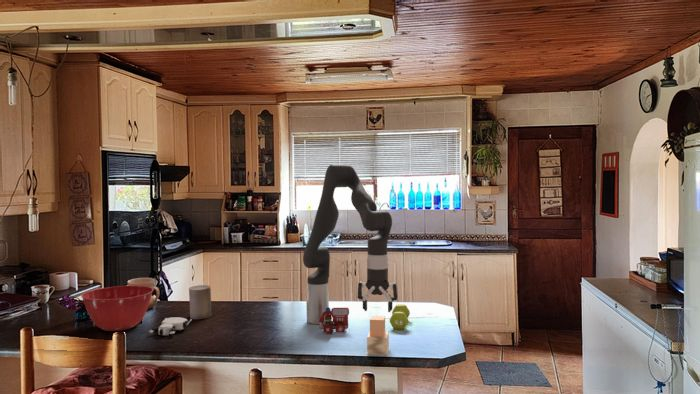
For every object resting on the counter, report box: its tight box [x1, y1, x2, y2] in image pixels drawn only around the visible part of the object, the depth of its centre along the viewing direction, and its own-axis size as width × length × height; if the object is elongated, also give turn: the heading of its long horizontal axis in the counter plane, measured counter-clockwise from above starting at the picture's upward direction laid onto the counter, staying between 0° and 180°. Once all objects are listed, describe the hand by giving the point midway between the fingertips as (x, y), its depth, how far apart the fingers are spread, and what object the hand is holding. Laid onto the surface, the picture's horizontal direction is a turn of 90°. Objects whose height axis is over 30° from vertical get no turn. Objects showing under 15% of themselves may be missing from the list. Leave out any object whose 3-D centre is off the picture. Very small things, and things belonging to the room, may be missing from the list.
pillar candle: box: [188, 284, 213, 320], centre depth 246 cm, size 10×10×15 cm
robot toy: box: [148, 316, 193, 336], centre depth 223 cm, size 12×4×15 cm
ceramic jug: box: [125, 277, 160, 310], centre depth 262 cm, size 18×14×14 cm
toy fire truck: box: [318, 307, 350, 335], centre depth 221 cm, size 7×12×10 cm, turn 86°
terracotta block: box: [369, 315, 386, 337], centre depth 193 cm, size 5×5×6 cm
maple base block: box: [366, 331, 390, 356], centre depth 193 cm, size 7×7×6 cm
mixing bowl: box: [81, 285, 154, 332], centre depth 232 cm, size 28×28×16 cm
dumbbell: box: [389, 303, 411, 331], centre depth 230 cm, size 16×8×7 cm, turn 170°
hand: (377, 311), depth 193 cm, fingers open, 8 cm apart
